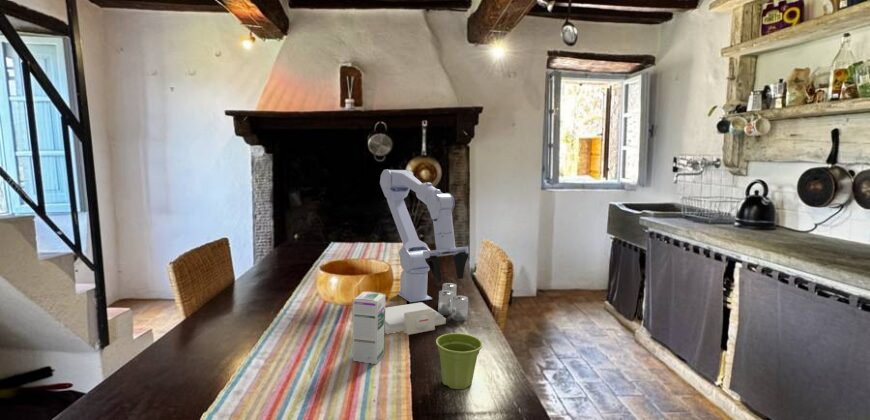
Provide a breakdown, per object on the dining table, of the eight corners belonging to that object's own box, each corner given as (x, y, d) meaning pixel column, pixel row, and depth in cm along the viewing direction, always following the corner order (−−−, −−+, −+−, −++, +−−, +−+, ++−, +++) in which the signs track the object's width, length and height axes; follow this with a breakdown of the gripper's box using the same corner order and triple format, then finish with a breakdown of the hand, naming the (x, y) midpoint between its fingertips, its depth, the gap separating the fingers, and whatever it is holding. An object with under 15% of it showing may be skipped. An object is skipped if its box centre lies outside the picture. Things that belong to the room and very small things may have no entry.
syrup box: (376, 365, 97) (378, 300, 95) (351, 361, 98) (352, 297, 97) (384, 354, 103) (386, 293, 101) (360, 350, 104) (362, 290, 102)
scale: (368, 318, 124) (368, 301, 123) (424, 309, 133) (424, 293, 133) (391, 338, 111) (391, 319, 111) (451, 327, 121) (452, 309, 120)
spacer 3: (448, 316, 128) (450, 296, 128) (461, 314, 131) (462, 294, 130) (457, 322, 125) (458, 301, 124) (470, 319, 127) (471, 299, 126)
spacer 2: (435, 310, 133) (436, 291, 132) (447, 308, 135) (448, 289, 135) (443, 315, 129) (444, 295, 129) (455, 313, 132) (456, 293, 131)
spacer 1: (439, 302, 141) (440, 283, 140) (450, 300, 143) (451, 282, 142) (446, 306, 137) (447, 287, 136) (458, 304, 139) (459, 286, 139)
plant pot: (432, 371, 96) (434, 332, 95) (475, 371, 97) (477, 332, 95) (436, 394, 86) (438, 351, 85) (483, 394, 87) (486, 352, 86)
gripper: (429, 234, 124) (435, 283, 123) (472, 230, 131) (477, 277, 130) (417, 236, 130) (422, 283, 129) (458, 232, 137) (464, 277, 136)
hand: (449, 280), depth 130 cm, fingers open, 7 cm apart
